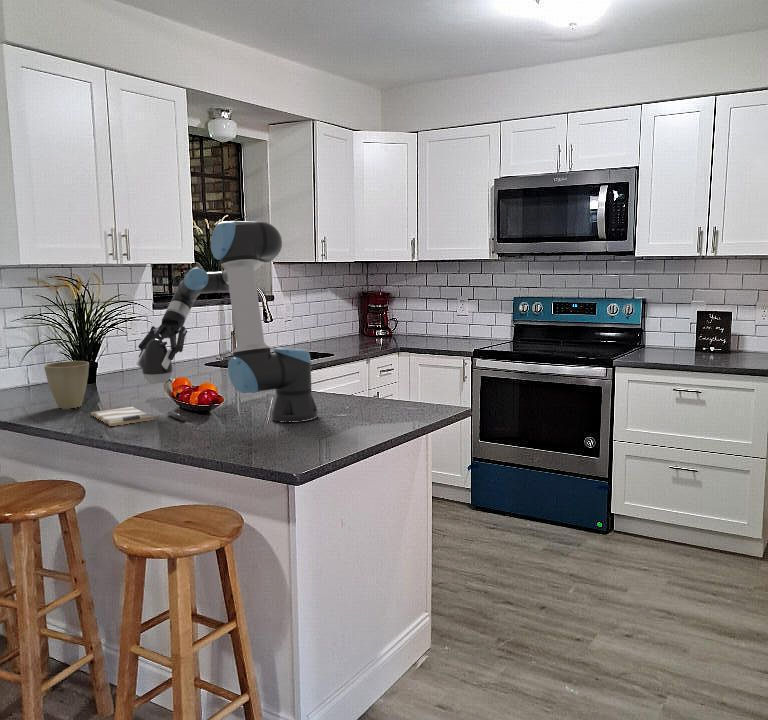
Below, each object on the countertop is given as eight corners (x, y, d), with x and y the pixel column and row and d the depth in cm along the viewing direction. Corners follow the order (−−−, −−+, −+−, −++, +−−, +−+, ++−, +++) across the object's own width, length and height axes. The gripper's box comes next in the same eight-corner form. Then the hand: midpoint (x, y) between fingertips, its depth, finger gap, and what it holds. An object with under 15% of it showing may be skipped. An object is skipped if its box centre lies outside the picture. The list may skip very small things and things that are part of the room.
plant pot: (40, 412, 261) (36, 367, 259) (59, 403, 276) (56, 361, 274) (81, 411, 261) (78, 366, 258) (99, 403, 275) (95, 360, 273)
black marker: (187, 421, 242) (186, 416, 241) (182, 422, 241) (182, 417, 240) (171, 414, 252) (171, 410, 252) (167, 415, 252) (166, 410, 251)
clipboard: (154, 420, 244) (153, 413, 244) (110, 427, 236) (110, 420, 236) (132, 409, 262) (132, 403, 261) (91, 415, 253) (91, 409, 253)
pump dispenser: (157, 385, 251) (154, 340, 249) (136, 383, 256) (133, 339, 254) (180, 380, 259) (177, 337, 257) (159, 379, 265) (156, 336, 263)
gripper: (206, 323, 266) (184, 373, 253) (154, 323, 273) (130, 372, 260) (197, 309, 260) (174, 360, 248) (144, 309, 267) (119, 359, 255)
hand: (151, 366), depth 254 cm, fingers closed on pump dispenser, 9 cm apart
